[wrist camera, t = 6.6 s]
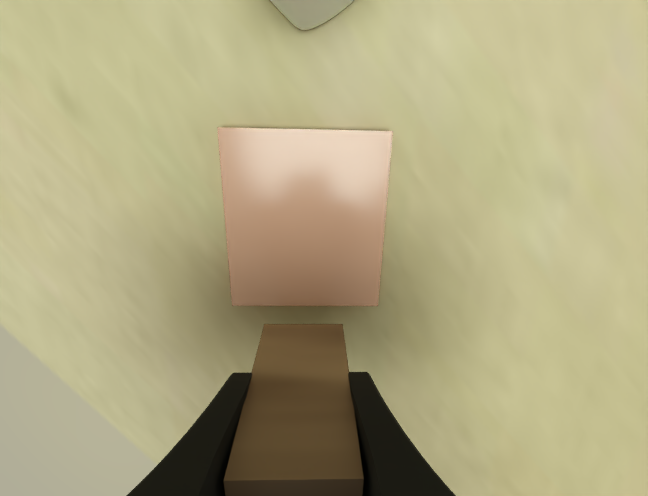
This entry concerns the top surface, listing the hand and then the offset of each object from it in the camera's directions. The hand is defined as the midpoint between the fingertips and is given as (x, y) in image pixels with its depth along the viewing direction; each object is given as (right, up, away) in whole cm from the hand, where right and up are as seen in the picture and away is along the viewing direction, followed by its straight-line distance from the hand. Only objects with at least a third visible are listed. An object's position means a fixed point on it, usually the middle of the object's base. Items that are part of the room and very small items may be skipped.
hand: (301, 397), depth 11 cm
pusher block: (0, 0, +3) cm, 3 cm away
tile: (0, +2, +6) cm, 6 cm away
